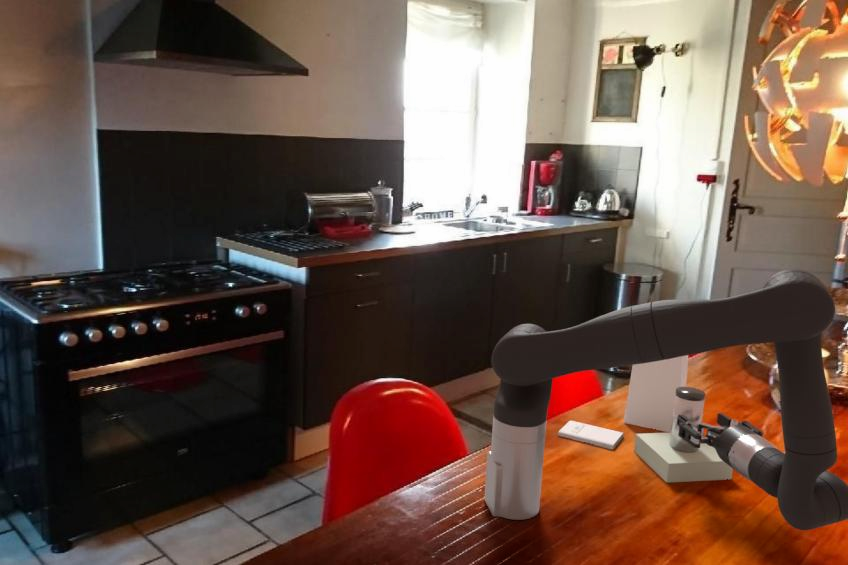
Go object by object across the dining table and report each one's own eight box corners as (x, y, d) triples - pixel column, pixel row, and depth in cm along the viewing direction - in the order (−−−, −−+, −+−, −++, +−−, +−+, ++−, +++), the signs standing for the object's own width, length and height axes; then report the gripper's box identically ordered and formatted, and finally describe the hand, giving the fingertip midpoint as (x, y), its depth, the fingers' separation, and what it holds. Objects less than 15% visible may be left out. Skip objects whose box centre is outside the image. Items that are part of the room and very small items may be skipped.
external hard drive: (612, 452, 153) (557, 437, 159) (623, 438, 160) (570, 425, 166) (613, 445, 153) (558, 430, 159) (623, 432, 159) (570, 419, 166)
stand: (666, 482, 139) (668, 463, 138) (633, 451, 153) (635, 433, 152) (731, 479, 142) (734, 460, 141) (693, 448, 155) (695, 431, 154)
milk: (683, 417, 173) (696, 313, 167) (676, 434, 163) (689, 324, 157) (633, 407, 178) (644, 306, 173) (623, 422, 168) (634, 316, 163)
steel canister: (677, 453, 143) (685, 396, 140) (664, 441, 148) (670, 386, 146) (703, 452, 144) (711, 396, 141) (688, 440, 149) (695, 386, 147)
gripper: (788, 433, 125) (733, 399, 141) (715, 436, 123) (667, 401, 138) (782, 472, 127) (729, 434, 143) (710, 476, 124) (663, 437, 140)
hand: (699, 418), depth 140 cm, fingers open, 8 cm apart
